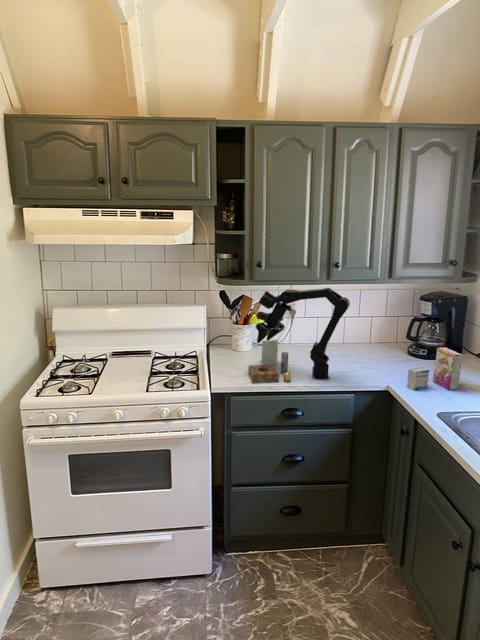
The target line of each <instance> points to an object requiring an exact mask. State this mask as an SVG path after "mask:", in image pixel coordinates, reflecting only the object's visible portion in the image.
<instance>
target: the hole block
mask: <svg viewBox="0 0 480 640" xmlns="http://www.w3.org/2000/svg"><path fill="white" fill-rule="evenodd" d="M247 371H248V372H247V373H248V377H250V380H251V383H252V384H260V383H261V384H262V383H264V384H265V383H280V373H279V371H278V370H277V368H276V366H274V365H261V364H260V365H259V364H258V365H256V364H255V365H248V370H247Z"/></svg>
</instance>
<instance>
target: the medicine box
mask: <svg viewBox="0 0 480 640" xmlns="http://www.w3.org/2000/svg"><path fill="white" fill-rule="evenodd" d="M429 375H430V370H429V369H428V368H425V367H423V366H422V367H415V368H409V369H408V373H407V382H406V388H408V387H409V388H408V389H410V388H411V390H412V389H413V390H412V391H416V390H415V389H419V390H422V389H421V388H424V389H427V388H428V385H429Z"/></svg>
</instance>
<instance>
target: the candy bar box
mask: <svg viewBox="0 0 480 640" xmlns="http://www.w3.org/2000/svg"><path fill="white" fill-rule="evenodd" d="M435 353H436V355H435V362H434V364H435V365H434V369H433V370H434V371H433V378H432V382H433V383H435V384H437V385H438V386H440V385H441V387H442V386H443V387H442V388H444V387H445V388H444V389H446V388H447V389H446V390H448V389H449V390H448V391H452V390H451V389H457V390H459V383H460V377H461V369H462V364H463V363H462V362H463V356H464V355H463V354H461V353H459V352H458V351H454V350H452V349H450V348H448V347H443V346H442V347H437V348H436V352H435Z"/></svg>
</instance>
